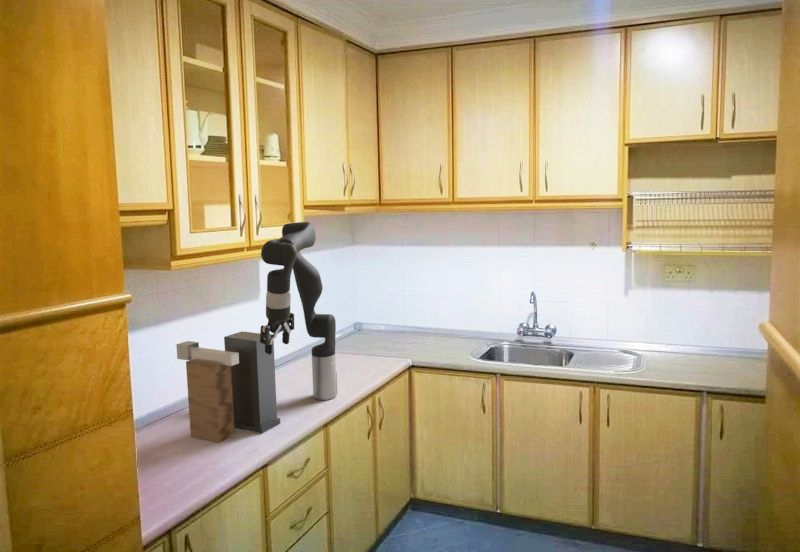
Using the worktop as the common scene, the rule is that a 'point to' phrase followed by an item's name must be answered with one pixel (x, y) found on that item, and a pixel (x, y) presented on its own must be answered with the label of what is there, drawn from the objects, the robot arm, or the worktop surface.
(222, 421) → the block
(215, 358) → the lever
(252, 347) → the tall dark grey pillar
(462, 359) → the worktop surface
